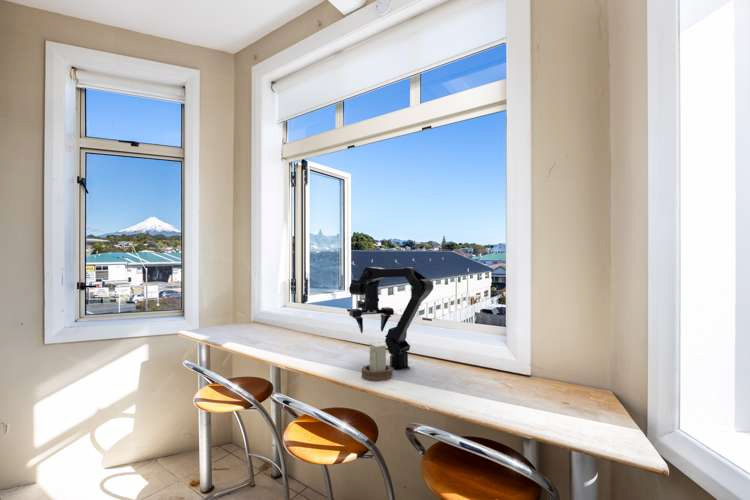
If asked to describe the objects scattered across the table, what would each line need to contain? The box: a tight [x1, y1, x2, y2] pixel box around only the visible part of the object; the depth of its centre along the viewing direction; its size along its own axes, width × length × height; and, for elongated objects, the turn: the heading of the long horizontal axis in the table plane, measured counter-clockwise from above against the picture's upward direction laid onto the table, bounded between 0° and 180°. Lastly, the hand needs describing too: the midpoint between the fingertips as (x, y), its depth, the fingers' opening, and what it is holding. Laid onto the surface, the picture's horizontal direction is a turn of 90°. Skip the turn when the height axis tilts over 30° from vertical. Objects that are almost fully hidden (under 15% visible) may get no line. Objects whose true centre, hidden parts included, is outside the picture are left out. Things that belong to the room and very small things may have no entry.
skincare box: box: [369, 341, 387, 372], centre depth 139 cm, size 6×4×12 cm
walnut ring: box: [361, 364, 393, 382], centre depth 139 cm, size 11×11×3 cm
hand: (371, 332), depth 158 cm, fingers open, 9 cm apart
